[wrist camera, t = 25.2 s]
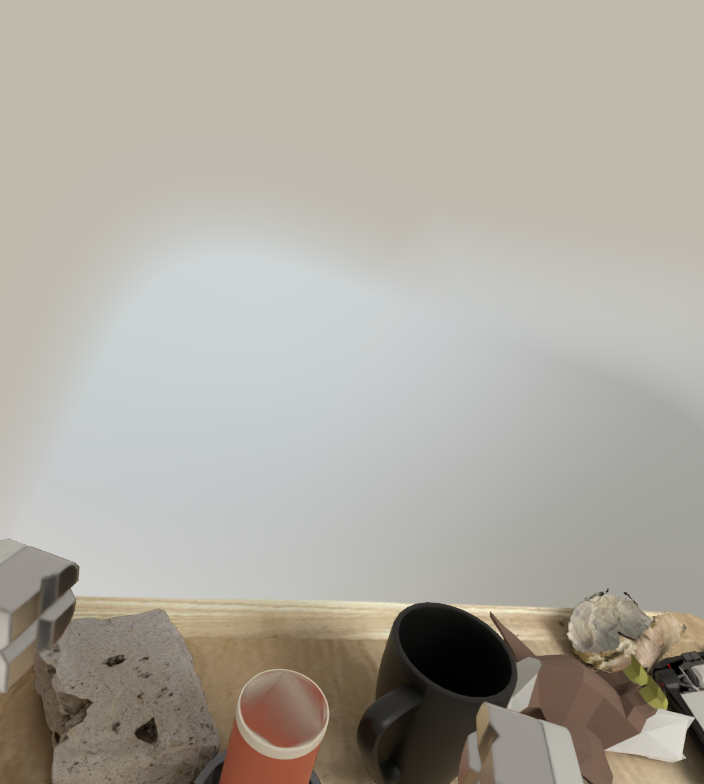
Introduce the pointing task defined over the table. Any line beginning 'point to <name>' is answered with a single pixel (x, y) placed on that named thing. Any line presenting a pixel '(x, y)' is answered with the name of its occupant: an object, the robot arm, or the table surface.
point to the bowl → (212, 772)
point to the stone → (124, 703)
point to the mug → (432, 693)
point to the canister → (276, 730)
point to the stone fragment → (620, 633)
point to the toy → (597, 708)
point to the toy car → (685, 688)
